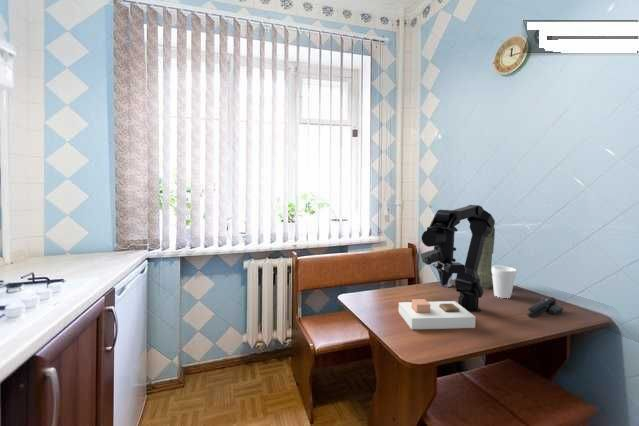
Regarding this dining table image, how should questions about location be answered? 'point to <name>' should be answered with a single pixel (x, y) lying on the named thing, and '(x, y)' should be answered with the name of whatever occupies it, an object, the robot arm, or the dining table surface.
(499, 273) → the foam cup
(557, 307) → the can opener
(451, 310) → the walnut key
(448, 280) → the energy drink
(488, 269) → the thermos
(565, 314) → the dining table surface
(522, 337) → the dining table surface
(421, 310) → the terracotta key
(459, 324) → the key panel
